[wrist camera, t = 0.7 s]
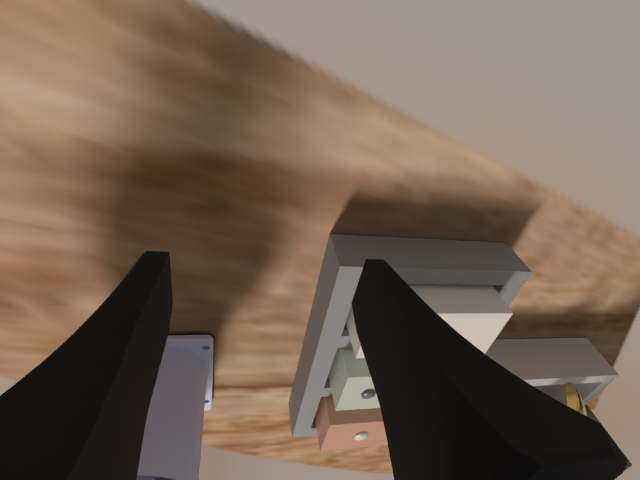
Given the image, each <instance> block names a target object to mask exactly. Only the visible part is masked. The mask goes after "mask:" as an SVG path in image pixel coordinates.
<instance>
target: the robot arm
mask: <svg viewBox="0 0 640 480" xmlns="http://www.w3.org/2000/svg"><path fill="white" fill-rule="evenodd" d="M172 303H173V300H172V286H171V271H170V257H169V252H153V251H146V252H145V253H143V254H142V255H141V257H140V258H139V260H138V261H137V262H136V264H135V265H134V266H133V268H132V269H131V270H130V272H129V273H128V274H127V275H126V277H125V278H124V279H123V280H122V282H121V283H120V284H119V285H118V286H117V288H116V289H115V290H114V291H113V292H112V293H111V294H110V296H109V297H108V298H107V299H106V300H105V301H104V303H103V304H102V305H101V306H100V307H99V308H98V309H97V310H96V311H95V312H94V313H93V314H92V315H91V316H90V317H89V318H88V319H87V321H86V322H85V323H84V324H83V325H82V326H81V327H80V328H79V329H78V330H77V331H76V332H75V333H74V334H73V335H72V336H71V337H70V338H68V339H67V340H66V341H65V342H64V343H63V344H62V345H61V346H60V347H59V348H58V349H57V350H55V351H54V352H53V353H52V354H51V355H50V356H49V357H47V358H46V359H45V360H44V361H43V362H42V363H41V364H39V365H38V366H37V367H36V368H34V369H33V370H32V371H31V372H30V373H28V374H27V375H26V376H25V377H23V378H22V379H21V380H20V381H19V382H17V383H16V384H15V385H14V386H12V387H11V388H10V389H8V390H7V391H6V392H5V393H3V394H2V395H1V396H0V480H199V468H200V455H201V444H202V431H203V418H204V411H208V410H210V409H211V408H212V388H213V345H214V339H213V337H212V336H210V335H168V332H169V325H170V318H171V311H172ZM352 309H353V315H354V321H355V326H356V331H357V335H358V338H359V341H360V344H361V348H362V351H363V354H364V357H365V360H366V363H367V366H368V369H369V372H370V376H371V379H372V382H373V385H374V388H375V391H376V394H377V398H378V401H379V405H380V409H381V414H382V418H383V423H384V428H385V432H386V437H387V442H388V447H389V453H390V458H391V463H392V468H393V474H394V480H614V479H615V478H617V477H618V476H619V475H620V474H622V473H623V471H624V470H625V469H626V466H627V460H628V459H627V458H626V457H625V455H624V454H623V453H622V451H621V450H620V449H619V447H618V446H617V445H616V443H615V442H614V441H613V439H612V438H611V437H610V435H609V434H608V433H607V431H606V430H605V429H604V427H603V426H602V425H601V424H600V423H599V422H597V421H595V420H593V419H591V418H589V417H587V416H585V415H584V414H582V413H580V412H578V411H576V410H574V409H572V408H570V407H568V406H566V405H565V404H563V403H561V402H559V401H557V400H555V399H554V398H552V397H550V396H549V395H547V394H545V393H544V392H542V391H540V390H538V389H537V388H535V387H533V386H532V385H530V384H529V383H527V382H525V381H524V380H522V379H521V378H519V377H518V376H516V375H514V374H513V373H512V372H510V371H509V370H507V369H506V368H504V367H503V366H501V365H500V364H498V363H497V362H495V361H494V360H493V359H491V358H490V357H489V356H487V355H486V354H484V353H483V352H482V351H481V350H479V349H478V348H477V347H475V346H474V345H473V344H472V343H470V342H469V341H468V340H467V339H465V338H464V337H463V336H462V335H460V334H459V333H458V332H457V331H456V330H455V329H453V328H452V327H451V326H450V325H449V324H448V323H447V322H446V321H445V320H443V319H442V318H441V317H440V316H439V315H438V314H437V313H436V312H435V311H434V310H433V309H432V308H431V307H430V306H429V305H428V304H427V303H425V302H424V301H423V300H422V299H421V297H420V296H419V295H418V294H417V293H416V292H415V291H414V290H413V289H412V288H411V287H410V286H409V285H408V284H407V283H406V282H405V281H404V280H403V279H402V278H401V277H400V276H399V275H398V274H397V273H396V272H395V271H394V269H393V268H392V267H391V266H390V265H389V264H388V263H387V262H386V261H385V260H383V259H366V260H365V263H364V266H363V269H362V272H361V275H360V279H359V282H358V285H357V288H356V291H355V294H354V297H353V300H352Z"/></svg>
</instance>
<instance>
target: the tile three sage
mask: <svg viewBox="0 0 640 480" xmlns="http://www.w3.org/2000/svg"><path fill="white" fill-rule="evenodd" d="M328 376H329V381H330V386H331V391H332V396H333V401H334V406H335V411H340V410H355V409H370V408H380V405H379V401H378V398H377V394H376V391H375V388H374V385H373V382H372V379H371V376H370V372H369V369H368V366H367V363H366V360H365V358H355V354H354V351H353V347H347V348H337V350H336V353H335V356H334V359H333V362H332V365H331V369H330V372H329V375H328Z"/></svg>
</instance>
